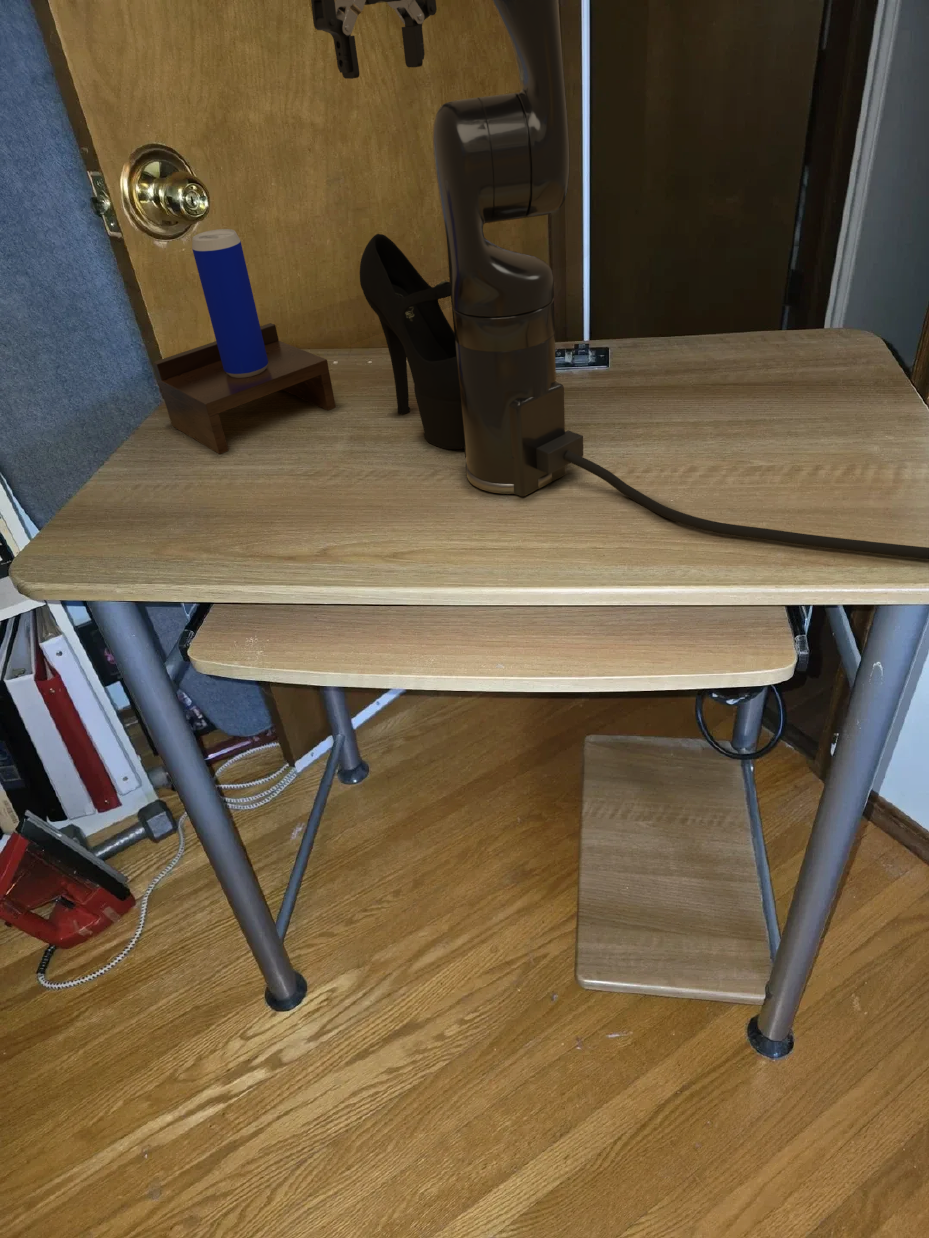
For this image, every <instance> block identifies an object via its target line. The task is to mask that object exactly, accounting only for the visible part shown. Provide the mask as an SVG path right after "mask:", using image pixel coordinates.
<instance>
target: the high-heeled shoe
mask: <svg viewBox="0 0 929 1238" xmlns="http://www.w3.org/2000/svg"><path fill="white" fill-rule="evenodd" d="M359 283H360V287H361V289H362V292H363V296H364V297H365V300H366V301H367V303H368V305H369V306H370V308H371V309H372V311H374V313H375V314H376V315H377V317H378V319H379V322H380V325H381V328H382V331H383V334H384V337H385V341H386V345H387V348H388V352H389V353H388V354H389V356H390V362H391V367H392V374H393V380H394V386H395V394H396V395H395V396H396V405H397V414H398V415H401V416H403V415H405V414H408V413H410V412H411V407H410V394H409V382H408V380H409V379H408V365H409V370H410V374H411V378H412V381H413V390H414V396H415V397H414V398H415V402H416V405H417V408H418V413H419V416H420V420H421V423H422V429H423V437H424V438H425V440H426V441H427V442H428V443H429V444H431V445H432V446H433V445H434V446H435V447H439V448H441V449H445V450H461V449H464V447H465V441H464V431H463V420H462V410H461V399H460V388H459V378H458V367H457V357H456V346H455V335H454V329H453V328H452V326H451V324H450V322H449V321H448V319H447V316H445V314H444V312H443V310H442V308H441V305H440V303H439V300H440V299H441V300H442V299H445V298H447V297H448V298H449V297H451V290H450V281H448V280H443V281H441V282H438V284H436V285H434V286H431V285H430V284H429V283H428V282H427V281H426V280H425V279H424V278H423V276H422V275H421V274H420V272H419V271H418V270H417V269H416V267H414V265H413V264H412V263H411V261H410V260H409V259H408V257H407V256H406V255H405V253H403V251H402V250H401V249H400V248H399V246H397V244H396V243H395V242H394V241H392V239H391V238H390V237H388V236H387V235H386V234H381V233H376V234H374V235H373V236H372V238H371V239H370V240H369V241H368V243H367V244H366V245H365V248H364V250H363V253H362V255H361V258H360V264H359Z"/></svg>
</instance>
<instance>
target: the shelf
mask: <svg viewBox="0 0 929 1238" xmlns="http://www.w3.org/2000/svg"><path fill="white" fill-rule="evenodd" d="M260 328H261V332H262V337H263V341H264V346H265V350H266V354H267V359H268V364H267V367H266V369H265V370H264V371H263V372H262V373H260V374H258V375H255V376H251V377H246V378H235V377H231V376H229V375H228V374H227V373H226V372H225V371H224V369H223V365H222V361H221V357H220V353H219V350H218V346H217V342H216V340H215V341H213V342H208V343H206V344H203V345H200V346H197V347H194V348H191V349H187V350H184V351H182V352H179V353H176V354H172V355H169V356H167V357H164V358H162V359H157V360H155V361H153V362H152V365H153V368H154V371H155V374H156V377H157V381H158V384H159V388H160V390H161V394H162V397H163V401H164V403H165V407H166V410H167V414H168V418H169V419H170V423H171V426H172V427H174V428H175V429H177V430H179V432H181V433H183V434H185V435H186V436H188V437H190V438H191V439H194V440H195V441H197V442H199V443H200V444H202V445H203V446H205V447H207V448H208V449H210V450H212V451H214V452H215V453H217V454H219V455H221V454H223V453H226V452H228V451H229V447H228V443H227V439H226V435H225V433H224V429H223V424H222V421H221V418H220V417H221V416H220V414H221V413H223V412H226V411H228V410H231V409H234V408H237V407H239V406H242V405H245V404H247V403H250V402H252V401H253V402H254V401H256V400H257V399H261V398H263V397H266V396H268V395H271V394H274V393H277V392H279V391H284V392H286V393H289V394H291V395H293V396H295V397H297V398H299V399H302V400H304V401H306V402H309V403H311V404H312V405H315V406H317V407H319V408H322V409H324V410H326V411H331V410H333V409H335V408H337V406H336V401H335V395H334V390H333V385H332V379H331V373H330V369H329V363H328V359H327V358H324V357H321V356H319V355H316V354H314V353H312V352H310V351H307V350H304V349H301V348H299V347H296V346H293V345H291V344H289V343H285V342H283V341H281V340H279V335H278V332H277V326H276V324H274V323H272V322H269V323H267V324H263V325H260Z"/></svg>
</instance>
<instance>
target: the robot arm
mask: <svg viewBox="0 0 929 1238" xmlns="http://www.w3.org/2000/svg"><path fill="white" fill-rule="evenodd" d="M491 1H492V3H493V5H494V7H495V9H496V12H497V14H498V16H499V18H500V19H501V22H502V24H503V26H504V29H505V31H506V34H507V37H508V39H509V42H510V46H511V48H512V53H513V56H514V60H515V64H516V65H515V66H516V69H517V75H518V76H517V77H518V84H519V85H518V86H519V92H511V93H510V92H509V93H503V94H495V95H487V96H479V97H469V98H463V99H458V100H457V99H456V100H451V101H448V102H444V103H443V104H441V105H440V106H439V108H438V109H437V111H436V112H435V113H436V114H435V116H434V121H433V126H432V153H433V163H434V170H435V176H436V177H435V179H436V184H437V190H438V197H439V203H440V210H441V217H442V225H443V232H444V238H445V249H446V259H447V268H448V278H449V282H450V290H451V296H450V300H451V311H452V312H451V313H452V322H453V331H454V335H455V346H456V357H457V367H458V378H459V388H460V399H461V410H462V420H463V431H464V441H465V447H464V448H463V450H464V457H465V458H464V459H466V460H465V461H466V463H465V470H466V477H467V480H468V481H469V483H470V484H471V485H473V486H474V487H476V488H477V489H480V490H483V491H485V492H489V493H493V494H503V495H505V494H507V495H508V494H509V495H510V494H512V495H513V494H514V495H517V496H519V497H526V496H528V495H530V494H531V493H534V492H535V491H537V490H539V489H541V488H543V487H545V486H547V485H549V484H550V483H552V482H554V481H556V480H558V479H560V478H562V477H564V476H565V475H566V474H567V466H568V465H569V464H572V465H575V466H577V467H579V468H580V469H583V470H585V471H587V472H589V473H591V474H593V475H595V476H596V477H598V478H600V479H601V480H603V481H605V482H606V483H607V484H608V485H610V486H612V487H613V488H614V489H616V490H617V491H618V492H619V493H621V494H622V495H624V496H626V497H627V498H629V499H631V500H632V501H633V502H636V503H637V504H639V505H641V506H642V507H644V508H646V509H647V510H650V511H651V512H653V513H655V514H657V515H658V516H661V517H663V518H666V519H667V520H670V521H673V522H675V523H678V524H681V525H685V526H688V527H691V528H694V529H697V530H702V531H704V532H705V531H706V532H710V533H714V534H719V535H720V534H721V535H724V536H725V535H726V536H733V537H740V538H749V539H755V540H756V539H757V540H765V541H771V542H778V543H786V544H793V545H798V546H805V547H806V546H807V547H815V548H824V549H832V550H841V551H847V552H849V551H850V552H856V553H857V552H858V553H867V554H873V555H883V556H892V557H903V558H909V559H919V560H921V559H922V560H929V547H927V546H917V545H916V546H915V545H907V544H898V543H889V542H888V543H887V542H879V541H868V540H861V539H852V538H842V537H834V536H825V535H819V534H818V535H816V534H808V533H801V532H795V531H793V532H792V531H787V530H779V529H771V528H763V527H756V526H749V525H740V524H732V523H726V522H718V521H715V520H709V519H707V518H706V519H705V518H702V517H698V516H695V515H690V514H687V513H685V512H681V511H680V510H679V511H678V510H676V509H673V508H670V507H668V506H666V505H663V504H662V503H659V502H658V501H657V500H655V499H652V498H651V497H650V496H647V495H646V494H643V492H641V491H639V490H637V489H635V488H634V487H632V486H631V485H629V484H627V483H626V482H625V481H623V480H622V479H621V478H619V477H618V476H617V475H616V474H614V473H613V472H611V471H610V470H608V469H606V468H605V467H603V466H601V465H599V464H598V463H595V462H593V461H592V460H589V459H588V458H586V457H584V435H582V434H581V433H578V432H575V431H571V430H570V429H569V430H566V415H565V414H566V413H565V412H566V411H565V409H566V408H565V385H564V384H563V383H561V382H558V381H557V367H556V366H557V364H556V325H555V298H554V297H555V286H554V285H555V284H554V283H555V282H554V274H553V270H552V267H551V266H550V264H549V263H548V262H546V261H545V260H543V259H541V258H539V257H537V256H534V255H531V254H527V253H521V252H519V251H518V252H517V251H514V250H510V249H506V248H504V247H501V246H499V245H497V244H495V243H493V242H492V241H490V240H489V239H487V238H486V237H485V233H484V225H485V224H491V223H498V222H505V221H506V222H507V221H512V220H520V219H521V220H522V219H527V218H528V219H530V218H536V217H542V216H547V215H551V214H554V213H556V212H558V211H559V210H560V209H561V208H562V206H563V205H564V203H565V201H566V197H567V193H568V190H569V182H570V172H571V171H570V170H571V169H570V167H571V157H570V155H571V154H570V152H571V151H570V136H569V135H570V134H569V118H568V107H567V93H566V82H565V81H566V80H565V69H564V58H563V57H564V56H563V45H562V34H561V33H562V32H561V20H560V19H561V18H560V5H559V0H491ZM378 3H379V4H382V3H386V4H387V5H388V6H389V7H390V8H392V9H393V10H394V11H395V13H396V14H397V16H398V17H399V19H400V21H401V22H402V23H403V24H404V26H402V27H401V35H402V44H403V53H404V63H405V66H406V67H407V68H419V67H420V68H421V67H422V66H423V60H425V53H426V52H425V44H424V32H423V24H424V22H425V20H427V19H428V18H429V17H431V16H435V15H436V13H437V10H438V9H437V0H310V4H311V15H312V23H313V26H314V28H315V30H317V31H322V32H325V33H327V34H330V36H331V37H332V39H333V45H334V53H335V58H336V65H337V69H338V71H339V73H341V74H342V75H341V76H342V77H343V78H344V79H345V80H346V79H347V80H348V79H349V80H352V79H358V78H360V66H359V59H358V53H357V52H358V51H357V45H356V38H355V35H351V34H353V30H354V27H355V25H356V22H357V20H358V16H359V15H360V14H362V12H363V10H364V7H365V6H368V5H369V6H370V5H375V4H378Z"/></svg>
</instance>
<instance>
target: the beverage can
mask: <svg viewBox="0 0 929 1238" xmlns="http://www.w3.org/2000/svg"><path fill="white" fill-rule="evenodd" d="M191 239H192V240H191V241H192V243H191V249H192V254H193V258H194V261H195V266H196V269H197V272H198V276H199V281H200V284H201V289H202V292H203V296H204V299H205V300H204V301H205V303H206V308H207V312H208V315H209V319H210V323H211V326H212V330H213V334H214V338H215V341H216V342H217V346H218V350H219V353H220V357H221V361H222V365H223V369H224V371H225V372H226V373H227V374H228V375H229V376H231V377H235V378H246V377H251V376H255V375H258V374H260V373H262V372H263V371H264V370H265V369H266V367H267V364H268V359H267V354H266V350H265V346H264V341H263V337H262V332H261V328H260V326H261V324H260V319H259V315H258V311H257V307H256V303H255V298H254V294H253V289H252V284H251V280H250V276H249V272H248V268H247V262H246V259H245V254H244V250H243V245H242V241H241V238H240V237H239V235H238V233H237V231H236V230H234V229H231V228H220V229H219V228H218V229H212V230H207V231H203V232H199V233H198V234H195V235H194V236H193V237H192V238H191Z"/></svg>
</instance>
